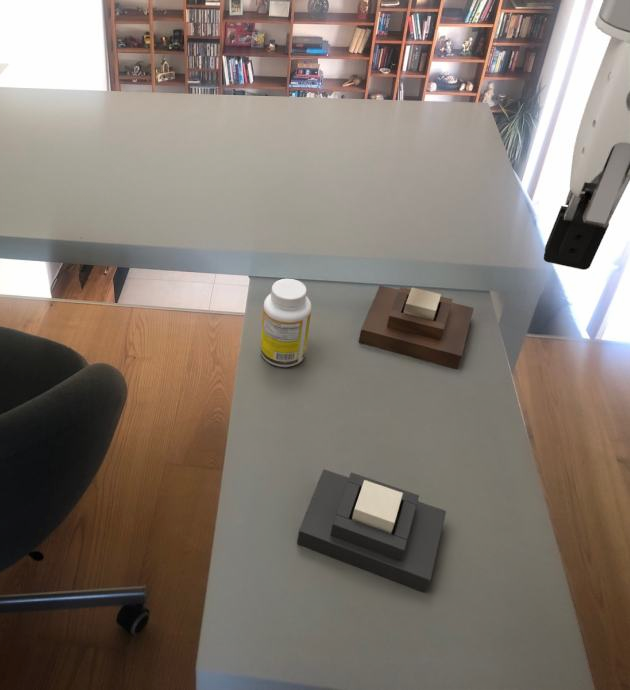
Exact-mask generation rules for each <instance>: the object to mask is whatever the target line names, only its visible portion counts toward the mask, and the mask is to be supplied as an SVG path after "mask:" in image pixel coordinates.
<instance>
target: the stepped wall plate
mask: <svg viewBox="0 0 630 690" xmlns="http://www.w3.org/2000/svg"><path fill="white" fill-rule="evenodd" d="M364 480H366V481H369V482H372V483H375V484H378V485H381V486H384V487H387V488H390V489H393V490H396V491H399V492H402V493H403V495H402V499H401V502H400V506H399V509H398V513H397V517H396V520H395V524H394V527H393V530H392V533H391V534H390V533H387V532H384V531H382V530H379V529H376V528H373V527H370V526H368V525H365V524H362V523H359V522H357V521H354V520H352V517H353V513H354V509H355V506H356V503H357V500H358V497H359V494H360V491H361V488H362V485H363V482H364ZM419 497H420V495H419V494H416V493H413V492H412V491H411V492H410V491H408V490H405V489H402V488H398V487H395V486H393V485H390V484H387V483H384V482H381V481H378V480H375V479H372V478H369V477H366V476H363V475H361V474H357V473H354V472H350V474H349V477H348V476H346V475H342V474H339V473H337V472H334V471H330V470H328V469H324V468H323V470H322V471H321V474H320V477H319V479H318V481H317V483H316V487H315V489H314V491H313V493H312V497H311V499H310V502H309V505H308V506H307V509H306V512H305V515H304V516H303V520H302V522H301V524H300V526H299V530H298V534H297V539H296V544H297V545H300V546H302V547H304V548H307V549H310V550H313V551H315V552H317V553H319V554H323V555H325V556H327V557H330V558H334V559H336V560H339V561H341V562H343V563H347V564H349V565H351V566H354V567H357V568H359V569H362V570H365V571H367V572H370V573H372V574H375V575H378V576H380V577H382V578H384V579H385V578H386V579H389V580H391V581H393V582H396V583H399V584H401V585H404V586H406V587H409V588H411V589H414V590H417V591H419V592H422V593H426V592H427V590H428V588H429V585H430V583H431V581H432V576H433V571H434V568H435V564H436V559H437V554H438V550H439V545H440V541H441V537H442V532H443V528H444V522H445V518H446V513H447V511H446V510H445V509H442V508H439V507H436V506H433V505H430V504H427V503H424V502H422V501H419Z"/></svg>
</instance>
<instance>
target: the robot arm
mask: <svg viewBox="0 0 630 690" xmlns="http://www.w3.org/2000/svg"><path fill="white" fill-rule="evenodd" d="M594 24H595V26H596V28H597V30H600V31H601V33H603V34H605V35H607V36H608V37H610V38H609V42H608V43H607V47H606V49H605V52H604V54H603V57H602V60H601V63H600V65H599V68H598V70H597V73H596V76H595V79H594V81H593V84H592V87H591V90H590V92H589V94H588V98H587V101H586V104H585V107H584V110H583V114H582V116H581V120H580V123H579V127H578V130H577V134H576V138H575V142H574V146H573V153H572V161H571V169H570V176H569V177H570V178H569V191H568V193H567V196H566V199H565V203H564V204H565V206H564V205H561V206H560V209H559V210H558V213H557V216H556V219H555V221H554V224H553V225H552V228H551V231H550V234H549V236H548V239H547V242H546V244H545V247H544V252H543V253H544V254H543V260H544V262H546V263H549V264H554V265H558V266H559V265H560V266H563V267H568V268H574V269H577V270H583V271H584V270H588V269H590V267H591V265H592V264H593V261H594V258H595V257H596V254H597V252H598V250H599V247H600V245H601V244H602V241H603V239H604V237H605V235H606V232H607V230H608V228H609V225H610V221H611V219H612V217H613V215H614V213H615V211H616V209H617V207H618V205H619V203H620V201H621V199H622V197H623V195H624V193H625V191H626V189H627V187H628V185H629V183H630V0H602V3H601V5H600V8H599V11H598V14H597V16H596V19H595V21H594Z"/></svg>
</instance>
